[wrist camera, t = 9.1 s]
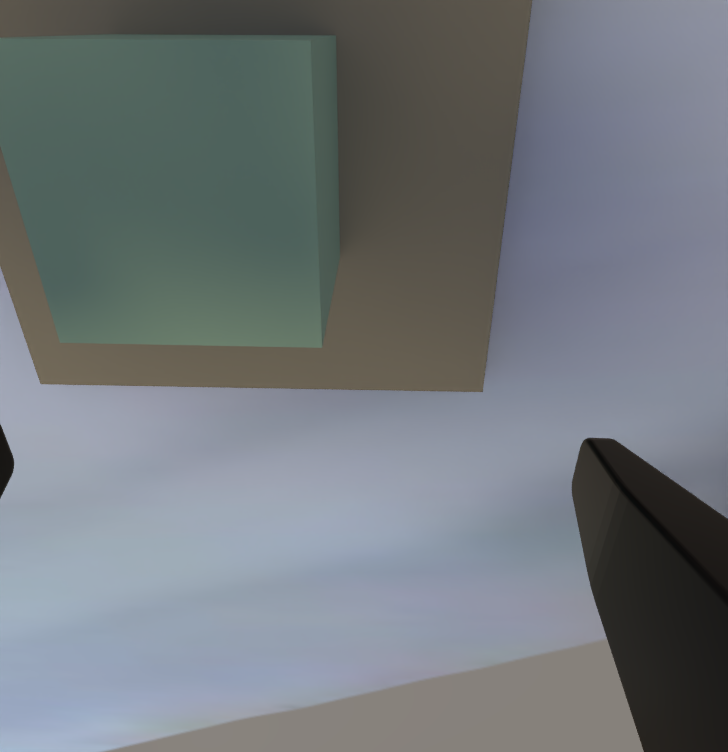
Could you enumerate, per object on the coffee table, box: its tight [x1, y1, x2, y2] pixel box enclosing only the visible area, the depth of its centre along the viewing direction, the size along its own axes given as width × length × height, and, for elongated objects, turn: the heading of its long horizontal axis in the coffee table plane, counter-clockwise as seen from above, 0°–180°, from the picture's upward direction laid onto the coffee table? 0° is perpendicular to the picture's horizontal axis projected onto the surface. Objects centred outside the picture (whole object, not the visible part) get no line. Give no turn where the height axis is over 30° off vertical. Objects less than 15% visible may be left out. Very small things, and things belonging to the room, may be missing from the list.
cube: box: [0, 34, 340, 348], centre depth 14 cm, size 6×6×6 cm
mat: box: [0, 0, 532, 392], centre depth 17 cm, size 16×16×1 cm
